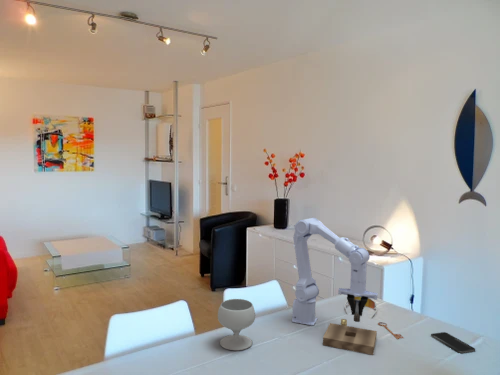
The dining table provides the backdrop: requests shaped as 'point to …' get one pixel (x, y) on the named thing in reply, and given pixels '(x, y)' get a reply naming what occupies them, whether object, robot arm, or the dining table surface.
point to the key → (391, 331)
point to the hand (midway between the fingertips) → (356, 314)
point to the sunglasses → (369, 304)
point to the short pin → (344, 322)
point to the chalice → (236, 322)
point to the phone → (453, 342)
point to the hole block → (350, 338)
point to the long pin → (357, 310)
